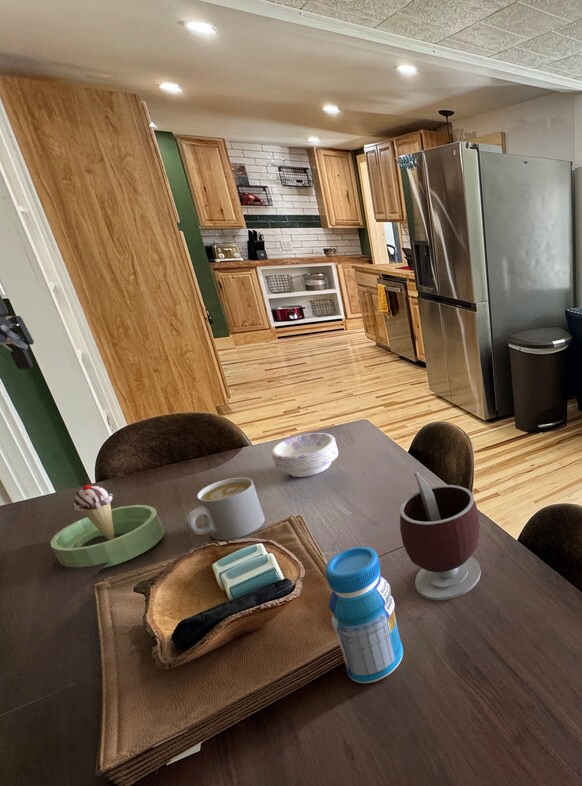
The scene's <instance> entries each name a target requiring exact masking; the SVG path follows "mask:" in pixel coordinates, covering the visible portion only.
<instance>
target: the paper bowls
mask: <svg viewBox="0 0 582 786" xmlns="http://www.w3.org/2000/svg"><path fill="white" fill-rule="evenodd" d="M338 449H339V448H338V446H337V443H336V438H335V437H334V435H331V434H329V433H326V432H310V433H304V434H298V435H294V436H292V437H288V438H286V439H284V440H281V441H280V442H278V443H276V444H275V445H274V446H273V447H272V449H271V456H272V459H273V463H274V466H275V469H276V470H277V471H278V472H282V473H287V474H288V475H290V476H292V477H296V478H305V477H311V476H316V475H318V474H320V473H323V472H324V471H326V470H327V469H329V467H330V466H331V464H332V463H333V462H334V460H336V459H337V458H338V456H339V450H338Z"/></svg>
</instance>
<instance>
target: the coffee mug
mask: <svg viewBox="0 0 582 786" xmlns="http://www.w3.org/2000/svg"><path fill="white" fill-rule="evenodd" d="M196 499H197V501H198V504H199V507H196V508H195V509H193V510H192V511H190V512H189V513H188V514H187V515H186V518H185V524H186V528H187V529H188V531H189V532H190V533H191V534H193V535H195V536H204V535H211V537H212V538H213V539H214V540H217V541H230V540H234V539H239V538H242V537H244V536H247V535H250V534H252V533H254V532H255V531H257V530H258V529H259V528H261V527H262V526H263V524H264V523H265V521H266V519H265V518H266V517H265V515H264V512H263V509H262V506H261V503H260V499H259V496H258V494H257V490H256V487H255V484H254V481H253V480H252V479H251V478H248V477H232V478H226V479H222V480H219V481H216V482H213V483H211V484H208V485H207V486H204V487H203V488H202V489H201V490H199V491H198V493H197V494H196ZM200 516H203V517H204V519H205V522H204V524H203V526H202V527H198V526H197V519H198V518H199V517H200Z"/></svg>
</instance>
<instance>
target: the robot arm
mask: <svg viewBox="0 0 582 786" xmlns="http://www.w3.org/2000/svg"><path fill="white" fill-rule="evenodd" d="M8 313H9V310H8V308H7V305H6V303H5V301H4V299H3V297H2V295H1V294H0V345H2V346H3V347H5V348H6V349H7V350H9V354H10V356H11V358H12V360H13V363H14V364H15V366H16V368H17V369H18V370H28V369H32V368H33V367H34V364H33V360H32V359H31V356H30V354H29V352H28V349H29V346H30V345H31V346H33V345H34V343H35V341H34V338H33V337H32V335H31V333H30V331H29V329H28V328H27V326H26V323H25V322H24V320H23V318H22V316H20V315H7V314H8ZM19 334H20V335H21V336H22V337H23V338H21V336H19Z"/></svg>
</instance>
